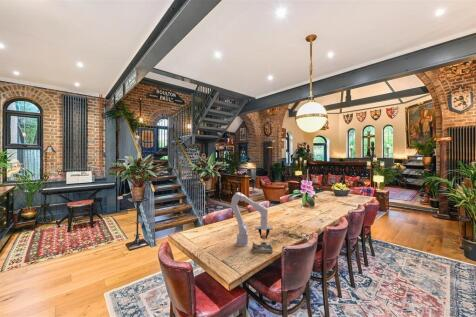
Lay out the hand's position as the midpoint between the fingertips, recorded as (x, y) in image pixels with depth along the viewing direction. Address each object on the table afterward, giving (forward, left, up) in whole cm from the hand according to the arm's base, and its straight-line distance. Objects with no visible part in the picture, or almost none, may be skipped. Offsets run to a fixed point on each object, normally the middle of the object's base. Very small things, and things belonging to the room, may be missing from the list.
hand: (263, 238), depth 170 cm
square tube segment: (0, 0, -6) cm, 6 cm away
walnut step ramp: (-6, -8, -6) cm, 12 cm away
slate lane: (-2, -8, -6) cm, 10 cm away
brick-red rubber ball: (0, 0, +1) cm, 1 cm away
